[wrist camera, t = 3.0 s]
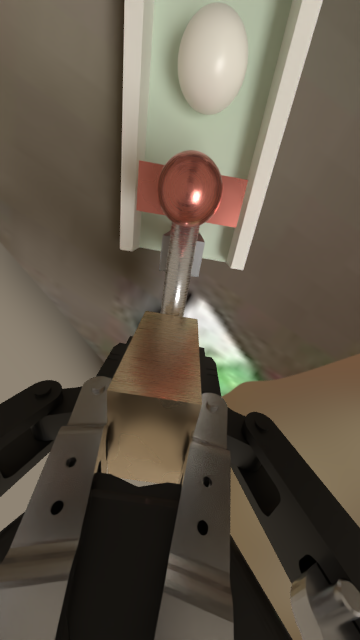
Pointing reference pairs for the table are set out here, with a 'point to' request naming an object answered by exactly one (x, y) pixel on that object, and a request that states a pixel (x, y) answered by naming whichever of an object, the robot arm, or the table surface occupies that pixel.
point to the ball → (213, 58)
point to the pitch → (207, 130)
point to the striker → (167, 326)
